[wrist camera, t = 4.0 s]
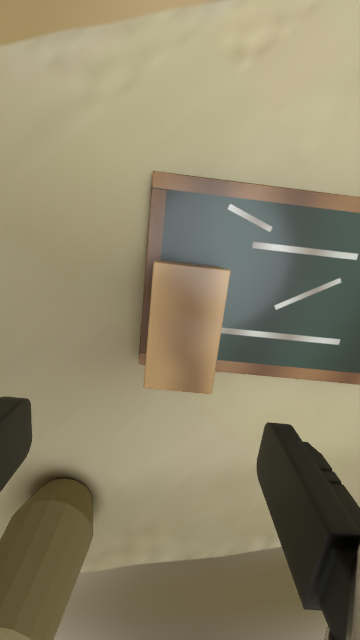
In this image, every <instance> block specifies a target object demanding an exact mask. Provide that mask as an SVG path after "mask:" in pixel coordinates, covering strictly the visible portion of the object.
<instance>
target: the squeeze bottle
mask: <svg viewBox="0 0 360 640" xmlns="http://www.w3.org/2000/svg"><path fill="white" fill-rule="evenodd" d="M92 537H93V501H92V496H91V493H90V492H89V491H88V489H87V488H86V487H85V486H84V485H82V484H81V483H79V482H77V481H75V480H70V479H66V478H65V479H55V480H53V481H51V482H48V483H46V484H45V485H44V486H43V487H42V488H41V489H40V490H39V491H38V492H37V493H36V494H35V495H33V496H32V497H31V498H30V499H29V500H28V501H27V502H26V503H25V504H24V505H23V506H22V507H21V508H20V509H19V510H18V511H17V512H16V513H15V514H14V516H13V517H12V518H11V520H10V522H9V524H8V526H7V528H6V530H5V532H4V534H3V536H2V538H1V540H0V640H53V639H54V637H55V634H56V632H57V629H58V627H59V624H60V621H61V619H62V616H63V613H64V611H65V608H66V606H67V603H68V601H69V598H70V596H71V593H72V590H73V588H74V585H75V583H76V580H77V578H78V575H79V572H80V570H81V567H82V565H83V562H84V560H85V557H86V554H87V552H88V549H89V547H90V543H91V540H92Z"/></svg>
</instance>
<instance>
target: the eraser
mask: <svg viewBox="0 0 360 640" xmlns="http://www.w3.org/2000/svg"><path fill="white" fill-rule="evenodd" d="M230 272H231V271H230V270H228V269H225V268H222V267H218V266H211V265H202V264H193V263H184V262H175V261H166V260H158V261H155V262H154V264H153V276H152V288H151V301H150V313H149V325H148V338H147V350H146V362H145V375H144V388H149V389H161V390H172V391H183V392H195V393H206V394H211V393H212V387H213V381H214V375H215V368H216V362H217V355H218V349H219V343H220V336H221V330H222V323H223V317H224V310H225V304H226V298H227V291H228V285H229V278H230Z"/></svg>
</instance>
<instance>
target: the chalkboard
mask: <svg viewBox="0 0 360 640" xmlns="http://www.w3.org/2000/svg"><path fill="white" fill-rule="evenodd" d="M158 260H166V261H175V262H184V263H193V264H202V265H211V266H218V267H222V268H225V269H228V270H230V271H231V272H230V278H229V285H228V291H227V298H226V304H225V310H224V317H223V323H222V330H221V336H220V343H219V349H218V355H217V362H216V368H215V371H218V372H229V373H240V374H251V375H262V376H273V377H284V378H294V379H305V380H316V381H327V382H338V383H349V384H359V385H360V197H354V196H346V195H338V194H330V193H322V192H315V191H307V190H299V189H291V188H283V187H275V186H267V185H259V184H251V183H243V182H235V181H227V180H219V179H212V178H204V177H196V176H188V175H180V174H172V173H164V172H156V171H153V177H152V190H151V203H150V217H149V231H148V244H147V258H146V271H145V285H144V298H143V312H142V325H141V339H140V353H139V364H143V365H145V362H146V350H147V338H148V325H149V313H150V301H151V288H152V276H153V264H154V262H155V261H158Z"/></svg>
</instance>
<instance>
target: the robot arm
mask: <svg viewBox="0 0 360 640" xmlns="http://www.w3.org/2000/svg"><path fill="white" fill-rule="evenodd" d="M31 442H32V424H31V403H30V401H29V399H25V398H15V397H1V398H0V492H1V490H2V489H3V488H4V486H5V485H6V484H7V482H8V481H9V480H10V478H11V477H12V476H13V474H14V473H15V472H16V470H17V469H18V468H19V466H20V465H21V464H22V462H23V461H24V459H25V458H26V456H27V454H28V452H29V450H30V447H31ZM257 475H258V480H259V483H260V486H261V489H262V491H263V494H264V497H265V500H266V503H267V506H268V508H269V511H270V514H271V517H272V520H273V523H274V525H275V528H276V531H277V534H278V537H279V540H280V543H281V545H282V548H283V551H284V554H285V557H286V560H287V562H288V565H289V568H290V571H291V574H292V577H293V579H294V582H295V585H296V588H297V590H298V594H299V596H300V599H301V602H302V605H303V608H304V609H308V610H322V612H323V614H324V617H325V619H326V622H327V624H328V627H327V630H326V634H325V640H360V507H359V506H358V505H357V503H356V502H355V500H354V499H353V498H352V496H351V495H350V493H349V492H348V491H347V489H346V488H345V486H344V485H342V484H341V481H340V479H339V478H338V477H337V475H336V474H335V472H333V471H332V468H331V467H330V465H329V464H328V462H327V461H326V460H325V458H324V457H323V455H322V454H321V453H319V452H318V451H317V450H316V449H315V448H314V447H312V446H311V445H310V444H309V443H308V442H302V440H301V439H300V437H299V436H298V434H297V433H296V431H295V430H294V428H293V427H292V426H291V425H289V424H278V423H267V424H266V425H265V427H264V432H263V436H262V440H261V445H260V449H259V454H258V458H257Z"/></svg>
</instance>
